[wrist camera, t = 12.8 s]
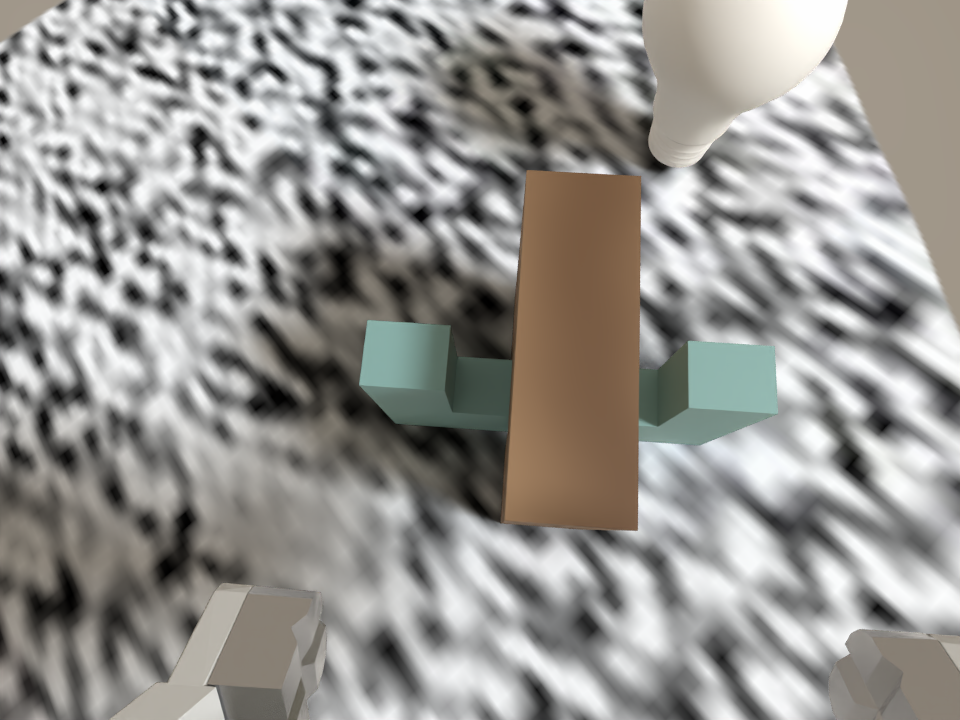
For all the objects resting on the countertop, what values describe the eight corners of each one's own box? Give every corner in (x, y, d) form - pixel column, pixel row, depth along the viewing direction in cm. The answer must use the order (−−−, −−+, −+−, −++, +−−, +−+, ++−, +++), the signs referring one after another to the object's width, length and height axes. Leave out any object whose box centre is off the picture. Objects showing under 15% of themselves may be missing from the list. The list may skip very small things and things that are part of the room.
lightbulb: (576, 133, 28) (626, -105, 18) (687, 73, 29) (800, -191, 18) (655, 239, 27) (761, 49, 16) (769, 172, 27) (943, -51, 17)
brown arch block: (500, 523, 24) (504, 520, 14) (514, 302, 26) (526, 169, 16) (579, 529, 24) (637, 530, 14) (586, 306, 26) (640, 176, 16)
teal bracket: (395, 423, 25) (359, 385, 18) (401, 375, 25) (367, 319, 19) (699, 445, 24) (777, 413, 18) (698, 395, 25) (774, 346, 18)
